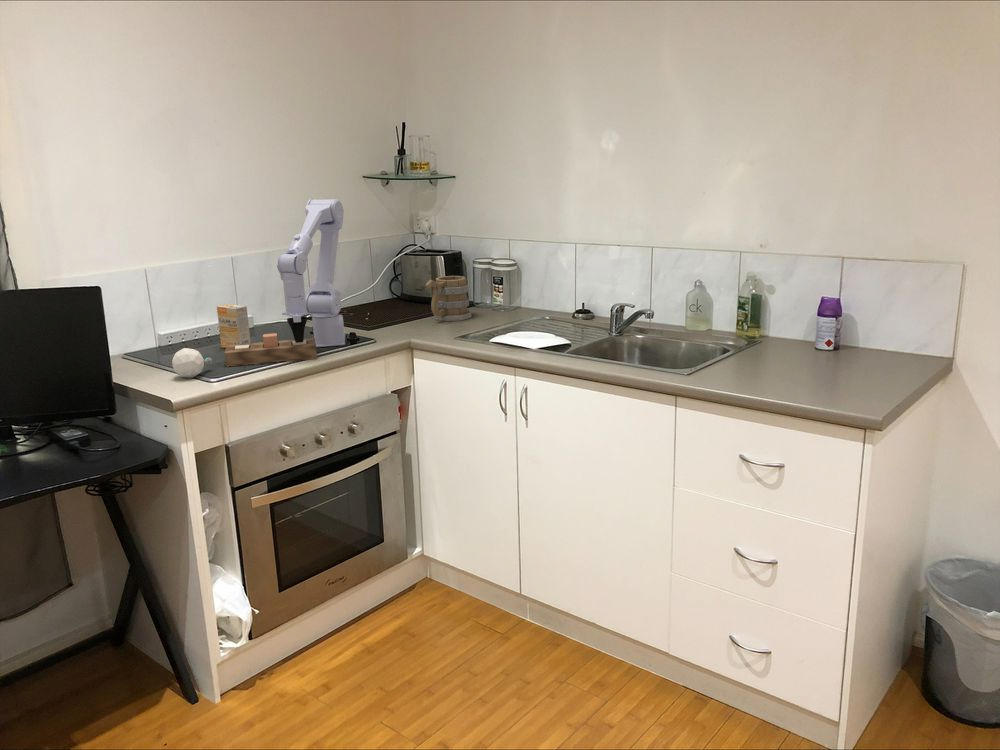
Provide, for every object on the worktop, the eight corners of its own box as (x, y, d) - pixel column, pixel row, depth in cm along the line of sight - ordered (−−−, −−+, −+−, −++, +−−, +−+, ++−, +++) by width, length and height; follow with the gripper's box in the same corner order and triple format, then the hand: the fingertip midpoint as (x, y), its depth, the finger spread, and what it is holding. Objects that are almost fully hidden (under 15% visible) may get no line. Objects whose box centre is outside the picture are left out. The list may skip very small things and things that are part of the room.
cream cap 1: (250, 357, 234) (249, 344, 233) (250, 360, 231) (248, 347, 230) (236, 358, 233) (235, 345, 232) (236, 361, 230) (234, 348, 229)
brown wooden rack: (315, 351, 242) (314, 337, 240) (317, 358, 232) (316, 345, 231) (228, 358, 236) (226, 345, 235) (226, 366, 226) (224, 353, 225)
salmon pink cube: (278, 345, 235) (276, 333, 234) (278, 348, 232) (276, 335, 231) (264, 346, 234) (263, 334, 233) (264, 349, 231) (262, 337, 230)
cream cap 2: (307, 352, 238) (305, 339, 237) (307, 355, 234) (306, 342, 233) (293, 353, 237) (292, 341, 236) (294, 356, 233) (292, 343, 232)
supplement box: (220, 348, 249) (215, 306, 245) (232, 344, 253) (227, 303, 249) (240, 350, 245) (235, 307, 242) (252, 347, 249) (247, 305, 246)
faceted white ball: (160, 365, 215) (194, 360, 226) (179, 386, 213) (213, 379, 224) (172, 343, 212) (206, 339, 223) (192, 363, 210) (225, 358, 221)
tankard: (450, 312, 293) (448, 271, 288) (477, 316, 285) (476, 273, 281) (413, 323, 277) (410, 279, 273) (441, 326, 270) (439, 282, 266)
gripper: (280, 292, 237) (285, 338, 240) (280, 301, 223) (285, 348, 227) (305, 291, 238) (309, 336, 242) (306, 299, 225) (310, 346, 229)
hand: (299, 342), depth 235 cm, fingers closed, pressing on cream cap 2
